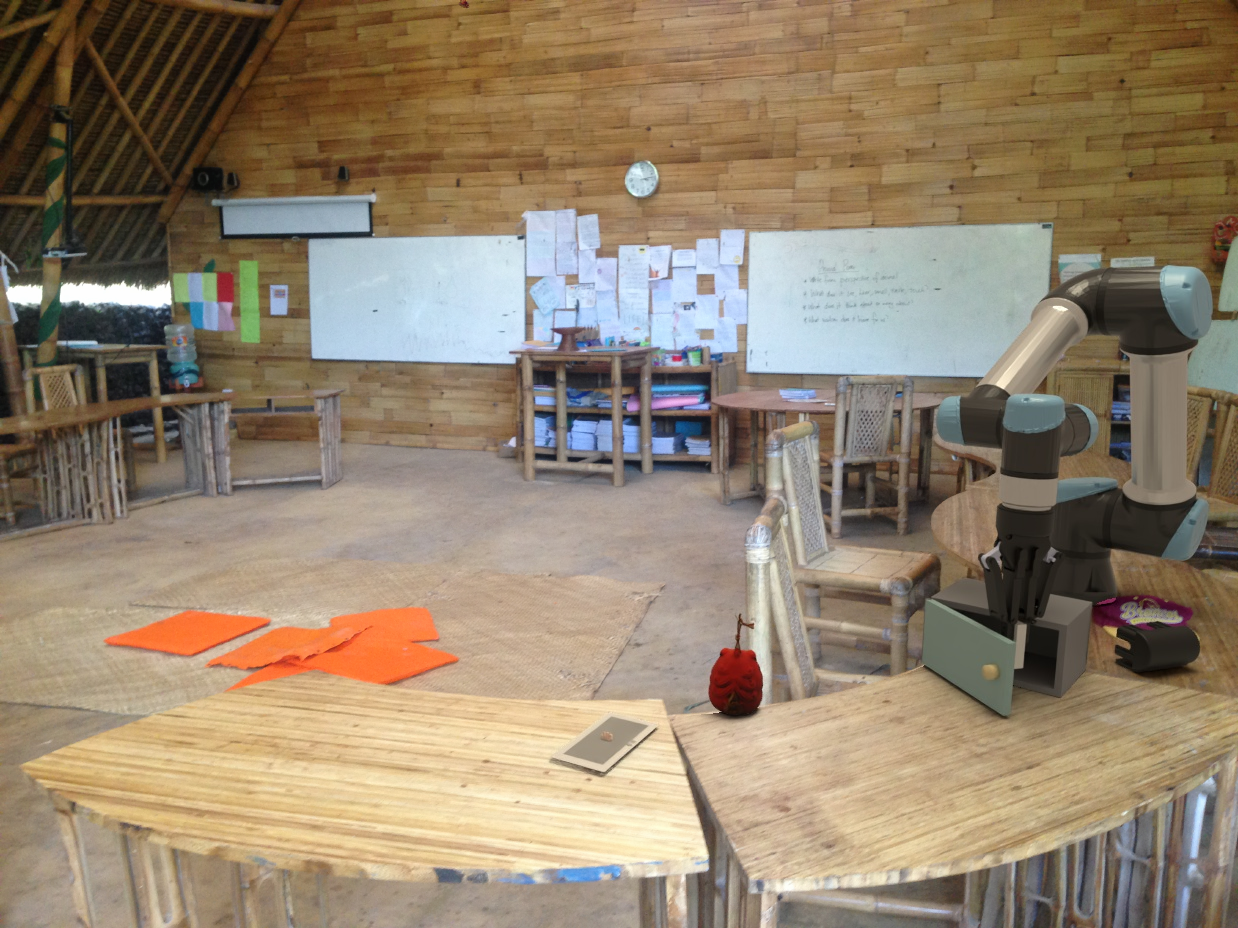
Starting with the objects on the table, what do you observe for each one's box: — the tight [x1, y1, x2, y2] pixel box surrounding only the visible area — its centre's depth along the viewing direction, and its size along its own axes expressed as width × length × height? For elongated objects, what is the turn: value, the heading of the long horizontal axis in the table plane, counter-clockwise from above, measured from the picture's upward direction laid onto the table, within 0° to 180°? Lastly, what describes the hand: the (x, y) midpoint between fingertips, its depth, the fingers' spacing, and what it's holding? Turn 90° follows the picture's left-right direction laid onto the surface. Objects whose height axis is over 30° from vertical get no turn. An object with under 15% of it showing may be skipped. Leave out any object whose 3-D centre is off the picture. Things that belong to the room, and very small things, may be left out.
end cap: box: [1114, 620, 1201, 673], centre depth 146 cm, size 10×7×7 cm
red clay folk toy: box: [707, 613, 764, 716], centre depth 130 cm, size 8×7×15 cm
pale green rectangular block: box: [920, 597, 1016, 716], centre depth 137 cm, size 3×20×10 cm, turn 15°
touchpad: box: [549, 711, 660, 773], centre depth 120 cm, size 8×15×2 cm, turn 151°
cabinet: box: [930, 577, 1093, 699], centre depth 146 cm, size 14×20×11 cm
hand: (1012, 664), depth 134 cm, fingers closed
